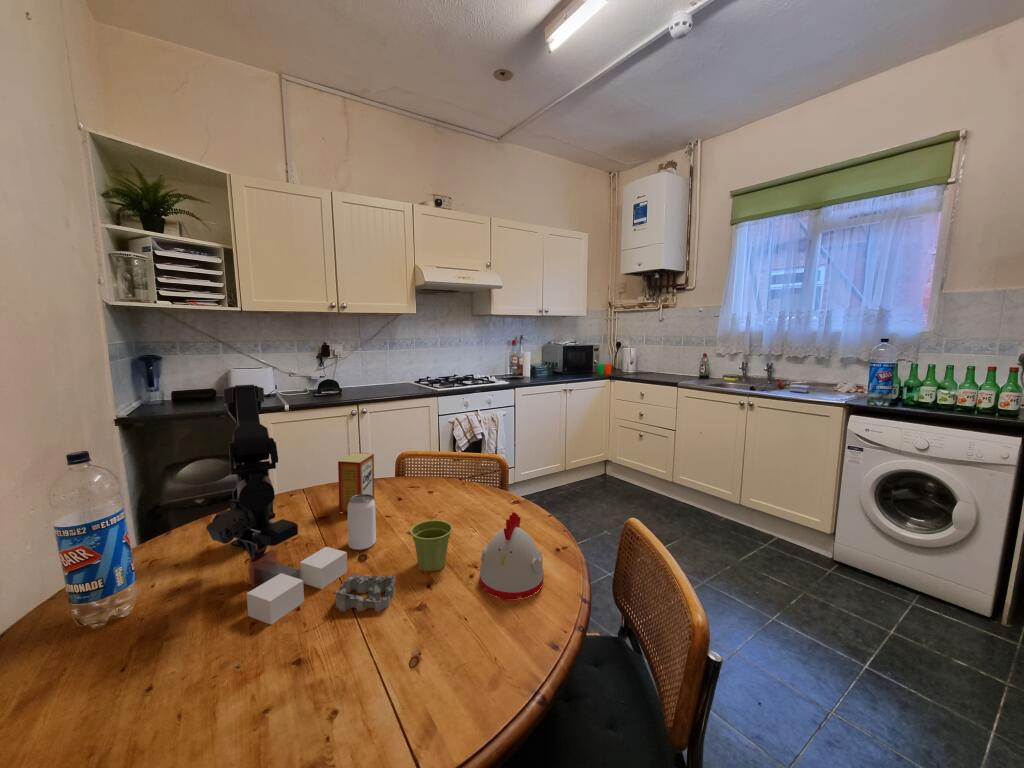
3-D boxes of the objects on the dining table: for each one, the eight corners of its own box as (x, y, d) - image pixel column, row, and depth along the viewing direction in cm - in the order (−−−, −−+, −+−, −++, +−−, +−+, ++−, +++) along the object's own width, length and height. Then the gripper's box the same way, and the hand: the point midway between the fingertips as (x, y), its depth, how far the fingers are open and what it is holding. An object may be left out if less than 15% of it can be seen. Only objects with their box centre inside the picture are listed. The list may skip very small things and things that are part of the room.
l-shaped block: (250, 584, 84) (249, 561, 84) (273, 571, 89) (272, 549, 89) (282, 595, 81) (281, 571, 80) (304, 581, 86) (303, 558, 85)
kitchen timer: (468, 590, 84) (469, 521, 82) (494, 557, 97) (495, 497, 95) (532, 607, 79) (534, 534, 78) (550, 570, 92) (552, 506, 91)
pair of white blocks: (248, 615, 75) (246, 593, 74) (326, 565, 92) (326, 546, 92) (271, 624, 73) (270, 601, 72) (347, 571, 90) (346, 552, 89)
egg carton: (330, 612, 77) (329, 592, 76) (347, 588, 84) (347, 570, 84) (386, 614, 76) (386, 594, 76) (398, 590, 84) (398, 571, 84)
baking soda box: (354, 500, 129) (353, 451, 127) (374, 501, 128) (373, 452, 126) (339, 513, 119) (338, 460, 118) (360, 514, 119) (359, 461, 117)
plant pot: (402, 564, 93) (402, 528, 92) (436, 550, 100) (436, 516, 99) (426, 582, 87) (426, 543, 86) (460, 564, 94) (460, 528, 93)
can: (366, 552, 98) (366, 504, 97) (342, 549, 99) (341, 501, 98) (380, 539, 104) (380, 494, 103) (357, 536, 106) (357, 492, 104)
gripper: (182, 498, 81) (187, 572, 83) (246, 516, 74) (250, 596, 76) (238, 481, 91) (241, 547, 93) (298, 495, 84) (300, 566, 86)
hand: (256, 563), depth 87 cm, fingers closed
